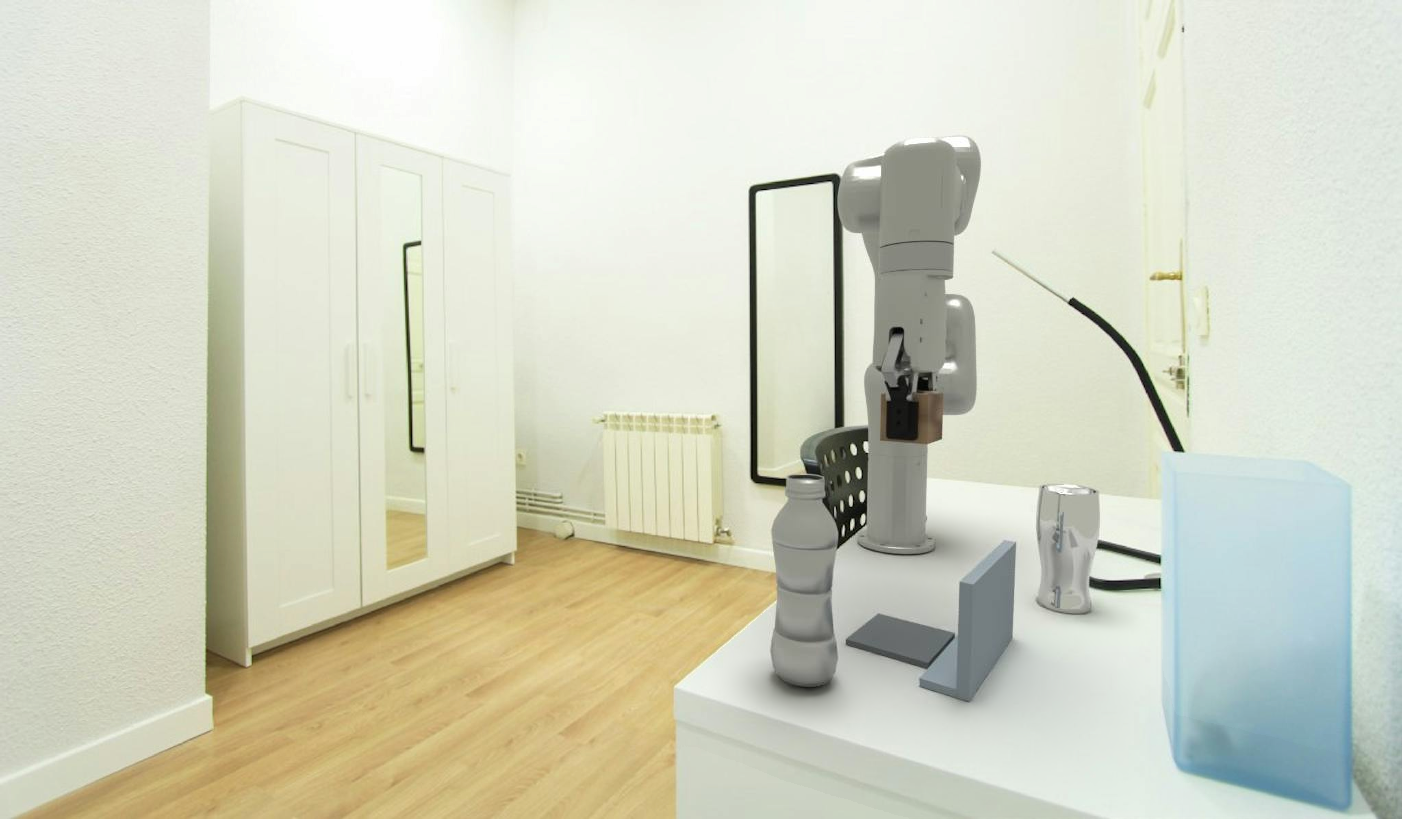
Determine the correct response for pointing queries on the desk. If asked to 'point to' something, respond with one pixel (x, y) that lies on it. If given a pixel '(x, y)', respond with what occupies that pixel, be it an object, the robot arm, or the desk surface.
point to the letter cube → (920, 417)
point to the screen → (978, 626)
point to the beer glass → (1066, 545)
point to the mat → (901, 640)
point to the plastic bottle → (804, 585)
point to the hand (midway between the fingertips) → (911, 434)
